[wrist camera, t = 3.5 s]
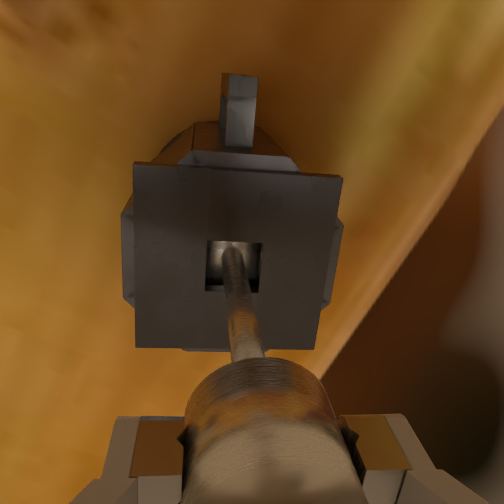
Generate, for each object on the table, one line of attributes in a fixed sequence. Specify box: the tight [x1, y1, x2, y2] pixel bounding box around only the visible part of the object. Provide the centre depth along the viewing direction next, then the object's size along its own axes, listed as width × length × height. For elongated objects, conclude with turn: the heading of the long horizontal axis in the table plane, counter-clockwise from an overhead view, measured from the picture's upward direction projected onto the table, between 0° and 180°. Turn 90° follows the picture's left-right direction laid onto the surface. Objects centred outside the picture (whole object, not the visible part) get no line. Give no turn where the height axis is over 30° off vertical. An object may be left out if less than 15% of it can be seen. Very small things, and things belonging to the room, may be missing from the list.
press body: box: [121, 73, 344, 352], centre depth 24 cm, size 13×10×12 cm
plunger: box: [180, 241, 369, 504], centre depth 14 cm, size 7×7×14 cm
